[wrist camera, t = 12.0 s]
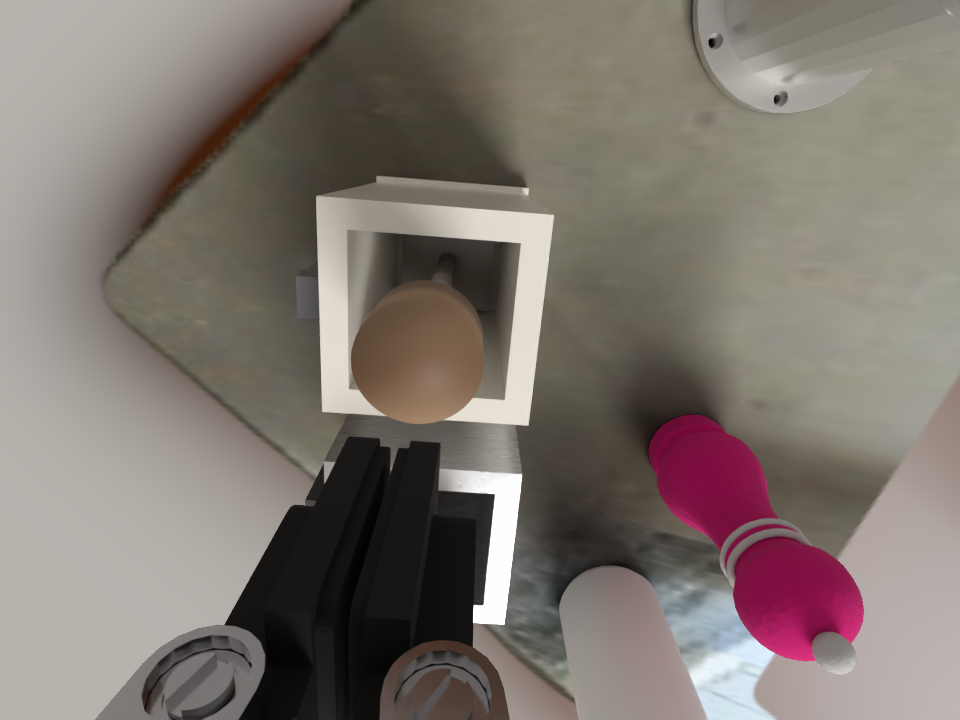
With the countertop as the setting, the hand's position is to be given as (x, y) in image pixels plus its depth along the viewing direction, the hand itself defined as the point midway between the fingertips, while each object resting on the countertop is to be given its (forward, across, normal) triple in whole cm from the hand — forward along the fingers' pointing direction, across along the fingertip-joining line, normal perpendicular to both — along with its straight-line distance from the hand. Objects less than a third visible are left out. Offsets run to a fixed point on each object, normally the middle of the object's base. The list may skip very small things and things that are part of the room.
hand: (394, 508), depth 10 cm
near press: (+30, +1, +1) cm, 30 cm away
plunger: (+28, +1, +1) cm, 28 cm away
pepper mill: (+30, -19, +15) cm, 38 cm away
